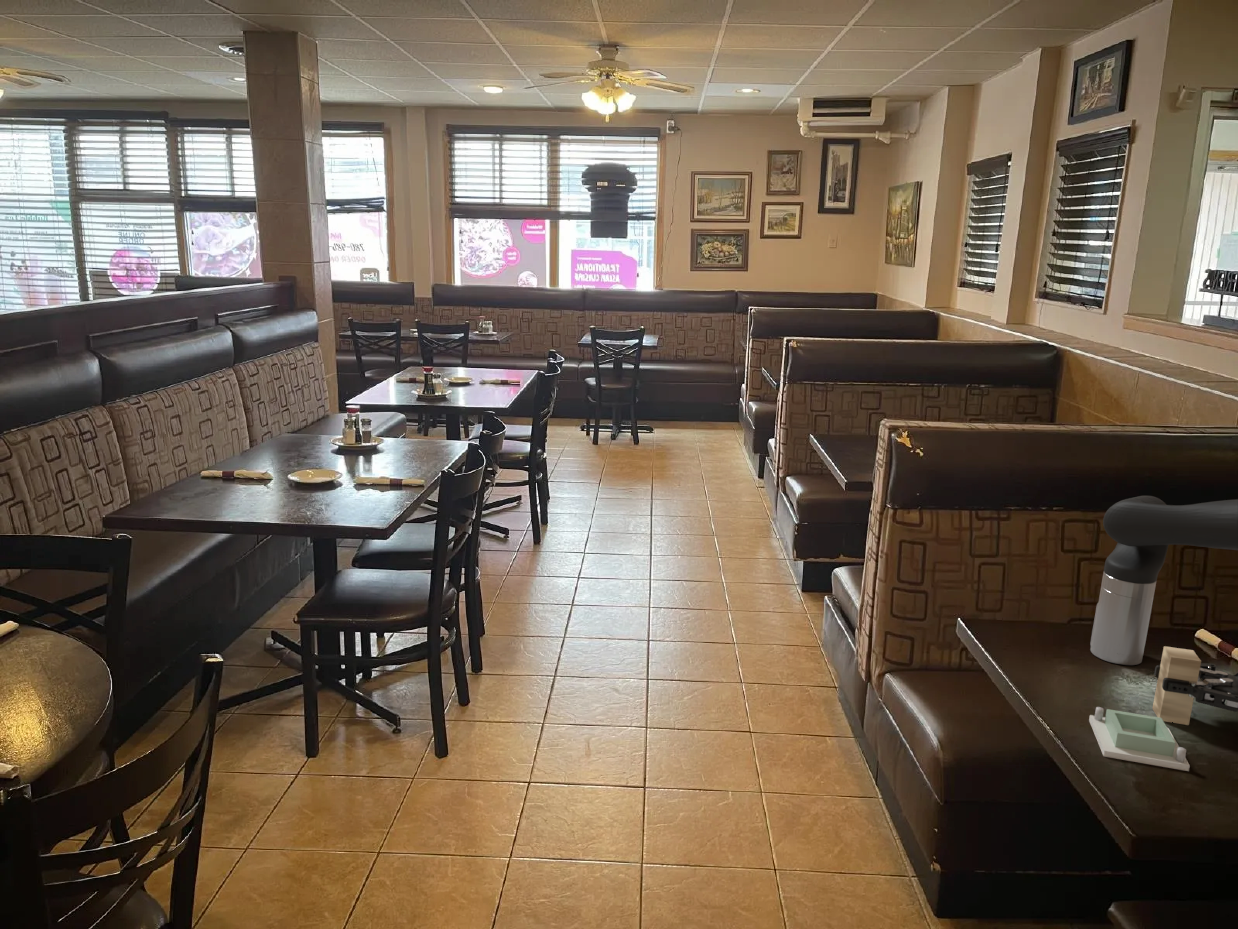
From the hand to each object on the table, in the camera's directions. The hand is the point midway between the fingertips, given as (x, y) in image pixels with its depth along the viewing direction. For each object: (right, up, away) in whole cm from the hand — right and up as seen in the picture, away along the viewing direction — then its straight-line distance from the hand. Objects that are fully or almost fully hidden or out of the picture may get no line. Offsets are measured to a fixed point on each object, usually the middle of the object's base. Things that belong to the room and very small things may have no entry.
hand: (1159, 677), depth 153 cm
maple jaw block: (+2, -7, +1) cm, 8 cm away
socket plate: (-9, -9, -8) cm, 15 cm away
